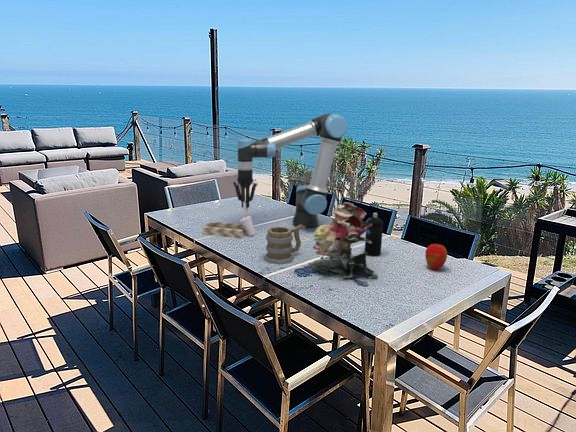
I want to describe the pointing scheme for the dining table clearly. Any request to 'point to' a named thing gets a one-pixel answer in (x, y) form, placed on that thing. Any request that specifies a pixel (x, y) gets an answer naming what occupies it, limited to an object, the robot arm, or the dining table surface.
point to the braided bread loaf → (224, 229)
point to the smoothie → (247, 224)
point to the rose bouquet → (342, 243)
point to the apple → (436, 256)
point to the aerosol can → (374, 236)
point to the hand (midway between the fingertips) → (245, 213)
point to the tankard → (282, 244)
